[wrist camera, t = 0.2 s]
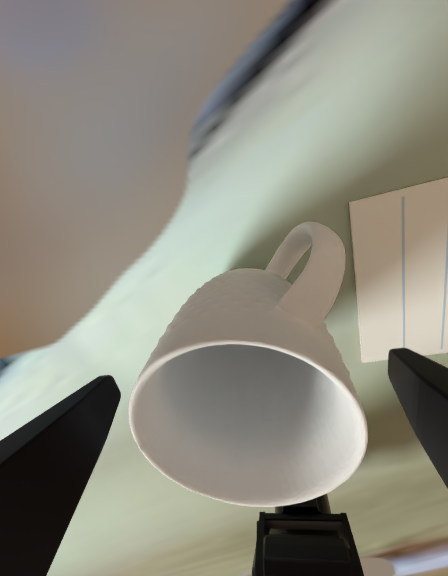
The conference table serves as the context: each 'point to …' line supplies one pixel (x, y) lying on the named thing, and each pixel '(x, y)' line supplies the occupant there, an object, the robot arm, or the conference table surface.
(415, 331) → the paper
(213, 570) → the conference table surface
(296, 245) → the mug
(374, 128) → the conference table surface
